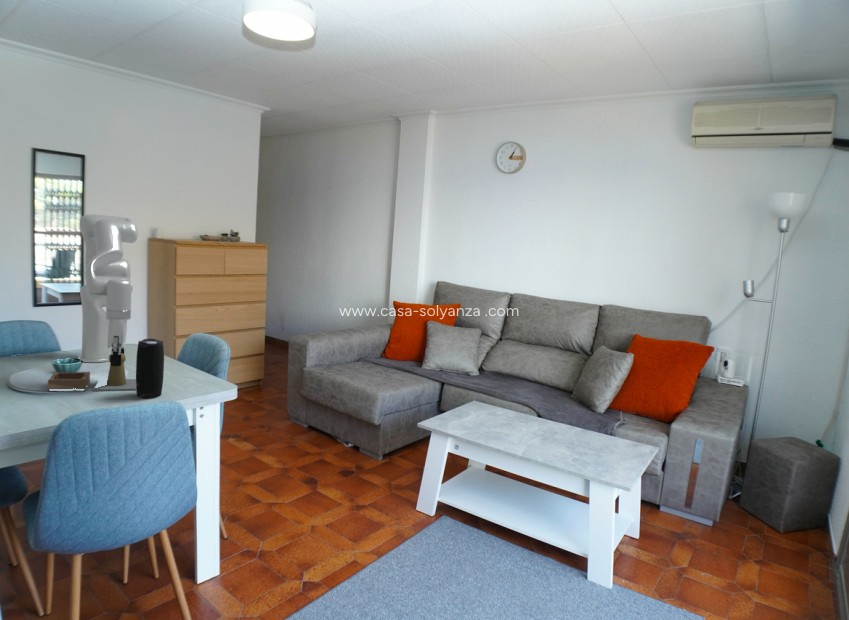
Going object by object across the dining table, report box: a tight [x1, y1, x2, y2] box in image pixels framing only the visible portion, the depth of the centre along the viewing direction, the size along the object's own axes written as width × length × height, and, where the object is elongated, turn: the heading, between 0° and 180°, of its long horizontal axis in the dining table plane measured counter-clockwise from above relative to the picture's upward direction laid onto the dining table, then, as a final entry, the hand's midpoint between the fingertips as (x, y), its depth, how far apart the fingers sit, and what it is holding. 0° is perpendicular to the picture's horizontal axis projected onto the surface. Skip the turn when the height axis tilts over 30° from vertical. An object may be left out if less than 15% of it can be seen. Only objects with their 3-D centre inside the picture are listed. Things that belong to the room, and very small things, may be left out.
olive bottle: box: [107, 353, 127, 386], centre depth 191 cm, size 6×6×11 cm
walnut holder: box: [47, 371, 91, 390], centre depth 185 cm, size 10×10×4 cm
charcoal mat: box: [92, 378, 136, 392], centre depth 192 cm, size 13×13×1 cm
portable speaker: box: [135, 338, 165, 399], centre depth 183 cm, size 8×9×19 cm
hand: (117, 362), depth 191 cm, fingers open, 9 cm apart
